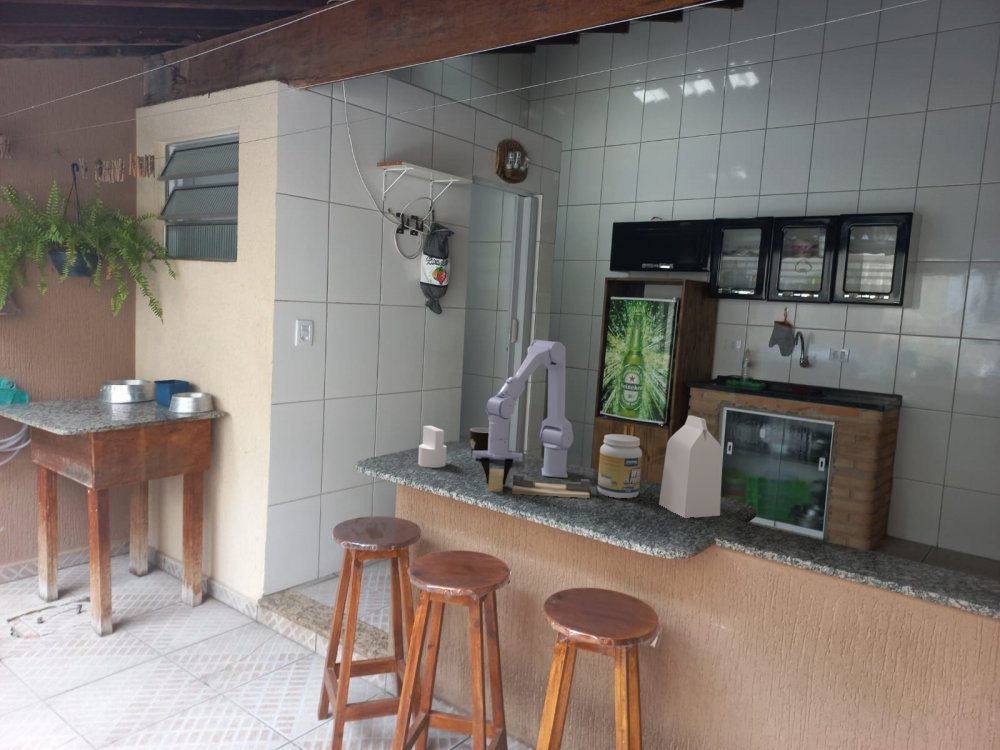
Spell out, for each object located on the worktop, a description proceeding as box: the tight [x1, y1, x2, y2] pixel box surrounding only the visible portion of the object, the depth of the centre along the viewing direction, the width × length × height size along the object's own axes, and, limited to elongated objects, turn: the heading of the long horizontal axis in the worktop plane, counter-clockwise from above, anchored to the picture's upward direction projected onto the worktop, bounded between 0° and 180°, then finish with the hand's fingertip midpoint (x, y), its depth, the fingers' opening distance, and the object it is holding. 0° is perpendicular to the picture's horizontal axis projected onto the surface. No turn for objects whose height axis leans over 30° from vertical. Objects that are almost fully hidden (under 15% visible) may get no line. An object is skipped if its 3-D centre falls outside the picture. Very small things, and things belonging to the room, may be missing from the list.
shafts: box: [512, 473, 591, 493], centre depth 204 cm, size 4×22×3 cm, turn 88°
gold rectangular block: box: [488, 468, 504, 492], centre depth 203 cm, size 4×7×5 cm, turn 178°
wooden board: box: [512, 482, 591, 499], centre depth 203 cm, size 10×22×1 cm, turn 88°
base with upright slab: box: [418, 425, 448, 469], centre depth 227 cm, size 9×9×12 cm
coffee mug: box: [469, 427, 489, 461], centre depth 237 cm, size 12×9×10 cm
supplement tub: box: [597, 433, 643, 499], centre depth 203 cm, size 12×12×17 cm
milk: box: [658, 415, 723, 519], centre depth 190 cm, size 12×12×26 cm
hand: (495, 483), depth 203 cm, fingers closed on gold rectangular block, 4 cm apart
